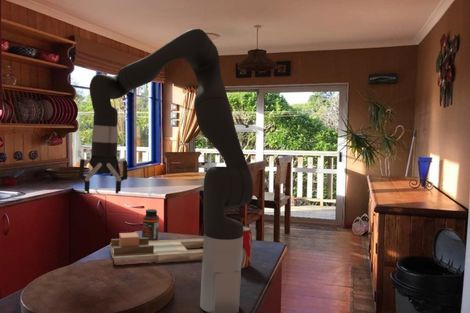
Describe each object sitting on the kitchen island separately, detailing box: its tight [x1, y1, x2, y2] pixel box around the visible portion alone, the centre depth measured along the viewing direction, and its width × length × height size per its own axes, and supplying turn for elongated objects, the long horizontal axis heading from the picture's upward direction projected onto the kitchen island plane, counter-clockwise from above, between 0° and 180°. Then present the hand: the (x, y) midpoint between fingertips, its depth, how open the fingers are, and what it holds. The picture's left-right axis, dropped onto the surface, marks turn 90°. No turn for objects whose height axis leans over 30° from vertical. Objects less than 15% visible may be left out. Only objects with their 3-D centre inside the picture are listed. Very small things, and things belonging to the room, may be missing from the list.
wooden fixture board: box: [109, 237, 204, 264], centre depth 131 cm, size 16×35×4 cm, turn 112°
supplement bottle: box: [141, 208, 160, 241], centre depth 146 cm, size 6×6×11 cm
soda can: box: [241, 225, 253, 269], centre depth 123 cm, size 7×7×12 cm
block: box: [118, 232, 140, 247], centre depth 126 cm, size 6×6×4 cm
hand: (102, 192), depth 122 cm, fingers open, 8 cm apart
